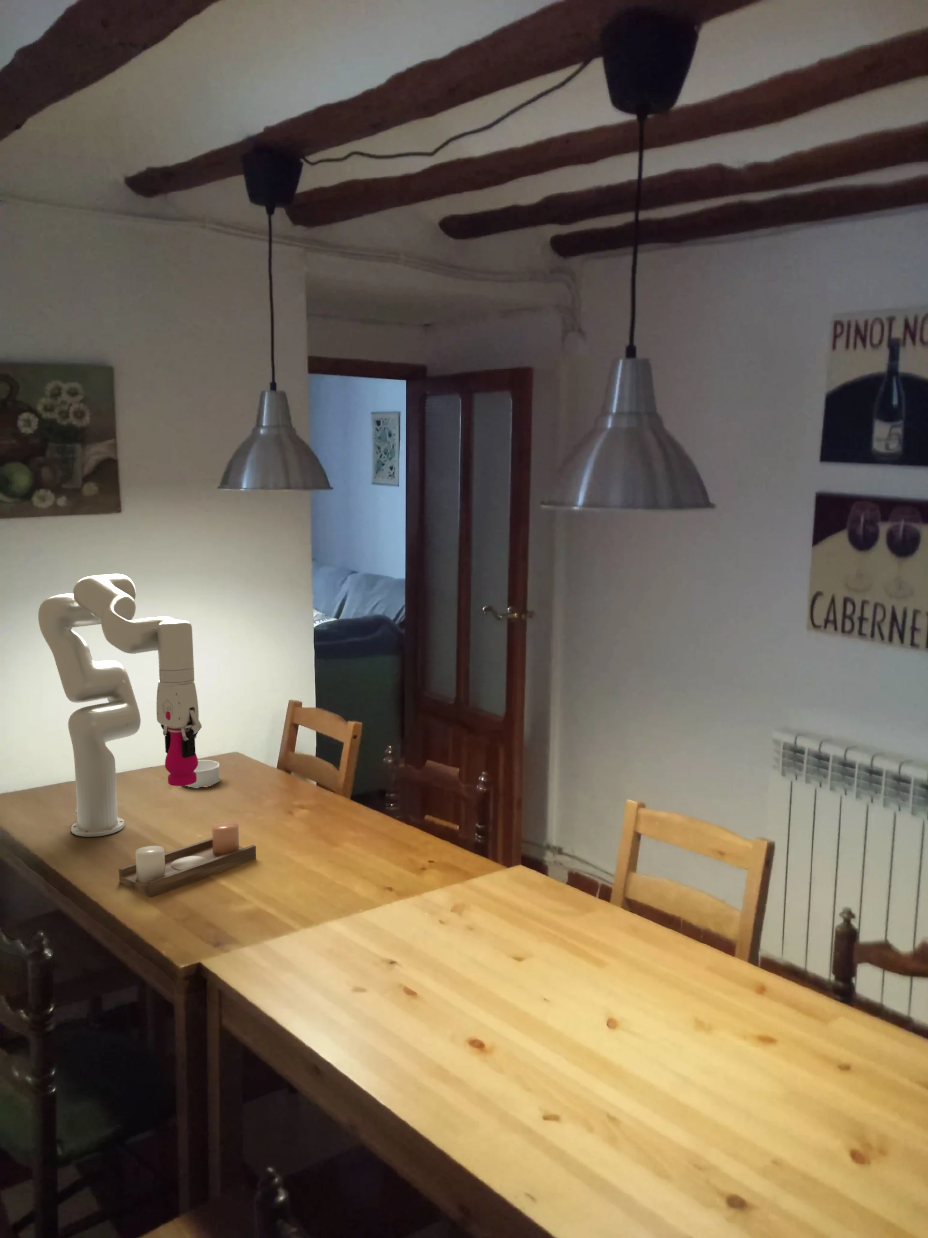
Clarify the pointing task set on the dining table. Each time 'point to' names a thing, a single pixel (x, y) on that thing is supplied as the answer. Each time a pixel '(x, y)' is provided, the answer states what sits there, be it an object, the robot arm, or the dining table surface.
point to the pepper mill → (179, 760)
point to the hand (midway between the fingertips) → (180, 753)
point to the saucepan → (206, 773)
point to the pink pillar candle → (225, 838)
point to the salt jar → (150, 863)
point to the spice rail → (187, 867)
